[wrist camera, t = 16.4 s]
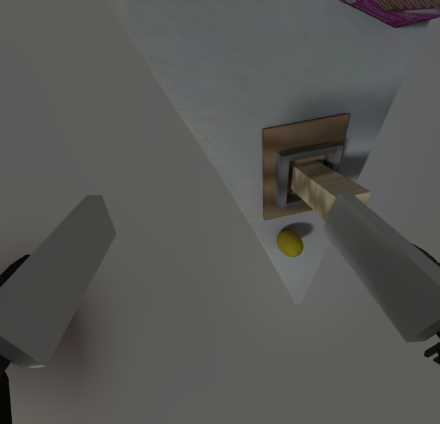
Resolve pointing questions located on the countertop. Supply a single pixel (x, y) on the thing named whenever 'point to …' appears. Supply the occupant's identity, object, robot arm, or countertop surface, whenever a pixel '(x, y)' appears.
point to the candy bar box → (398, 10)
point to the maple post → (322, 186)
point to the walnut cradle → (297, 158)
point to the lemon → (290, 243)
